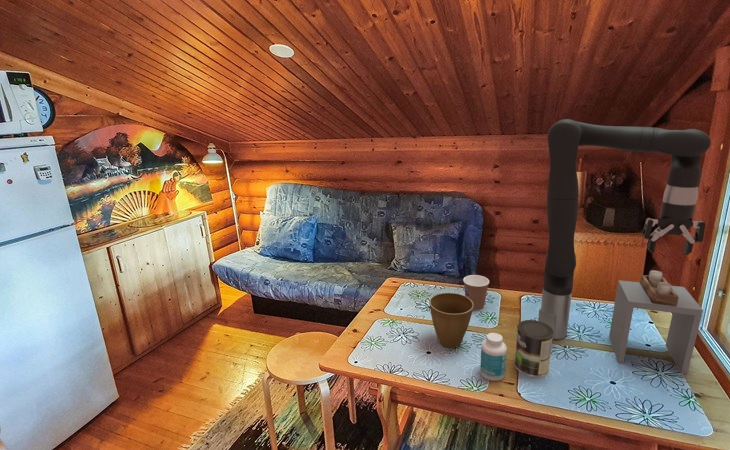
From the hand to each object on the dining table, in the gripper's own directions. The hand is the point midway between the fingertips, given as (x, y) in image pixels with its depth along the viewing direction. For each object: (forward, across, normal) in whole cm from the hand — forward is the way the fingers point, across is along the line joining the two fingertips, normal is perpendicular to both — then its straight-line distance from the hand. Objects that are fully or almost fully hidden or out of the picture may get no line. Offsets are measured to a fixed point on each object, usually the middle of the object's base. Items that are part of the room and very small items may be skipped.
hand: (668, 253), depth 116 cm
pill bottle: (+36, +48, +24) cm, 64 cm away
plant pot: (+36, +62, +10) cm, 73 cm away
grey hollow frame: (+36, +1, 0) cm, 36 cm away
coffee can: (+36, +36, +17) cm, 54 cm away
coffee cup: (+36, +56, -18) cm, 69 cm away
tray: (+14, +1, 0) cm, 14 cm away
